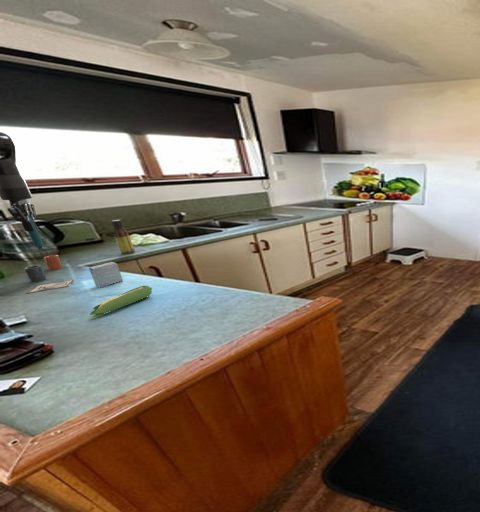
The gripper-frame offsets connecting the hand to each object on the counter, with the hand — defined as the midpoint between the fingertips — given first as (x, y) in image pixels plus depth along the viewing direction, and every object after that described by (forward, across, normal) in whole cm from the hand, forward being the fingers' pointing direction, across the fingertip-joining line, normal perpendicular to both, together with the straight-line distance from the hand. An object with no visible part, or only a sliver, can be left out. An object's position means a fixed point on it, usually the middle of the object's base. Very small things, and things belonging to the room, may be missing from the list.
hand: (31, 230), depth 111 cm
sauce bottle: (+25, -43, +17) cm, 52 cm away
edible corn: (+25, +43, +30) cm, 58 cm away
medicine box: (+25, +12, +20) cm, 34 cm away
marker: (+8, 0, 0) cm, 8 cm away
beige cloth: (+25, +3, 0) cm, 25 cm away
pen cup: (+25, -28, -8) cm, 38 cm away
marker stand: (+25, -10, -8) cm, 28 cm away
